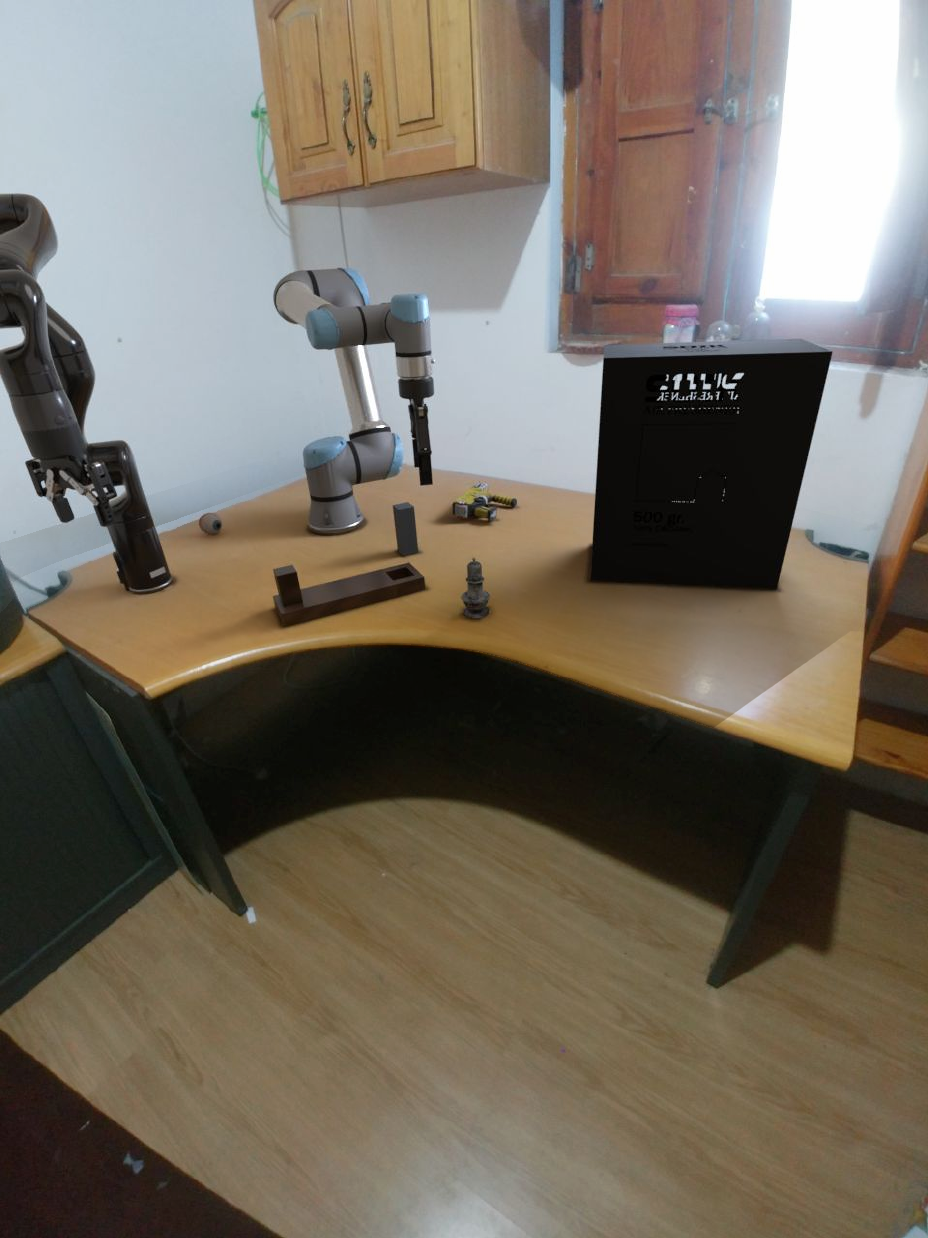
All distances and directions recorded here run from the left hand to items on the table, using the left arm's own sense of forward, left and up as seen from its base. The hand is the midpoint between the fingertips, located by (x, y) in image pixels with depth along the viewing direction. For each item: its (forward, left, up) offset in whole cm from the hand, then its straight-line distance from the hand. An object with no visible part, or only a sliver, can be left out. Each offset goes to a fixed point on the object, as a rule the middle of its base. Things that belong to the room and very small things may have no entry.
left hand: (87, 522), depth 99 cm
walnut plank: (+34, +24, -27) cm, 50 cm away
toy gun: (+61, +79, -27) cm, 104 cm away
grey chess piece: (+62, +18, -27) cm, 70 cm away
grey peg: (+42, +49, -27) cm, 70 cm away
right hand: (+48, +47, -7) cm, 68 cm away
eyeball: (-15, +62, -27) cm, 70 cm away
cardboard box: (+105, +40, -27) cm, 116 cm away
